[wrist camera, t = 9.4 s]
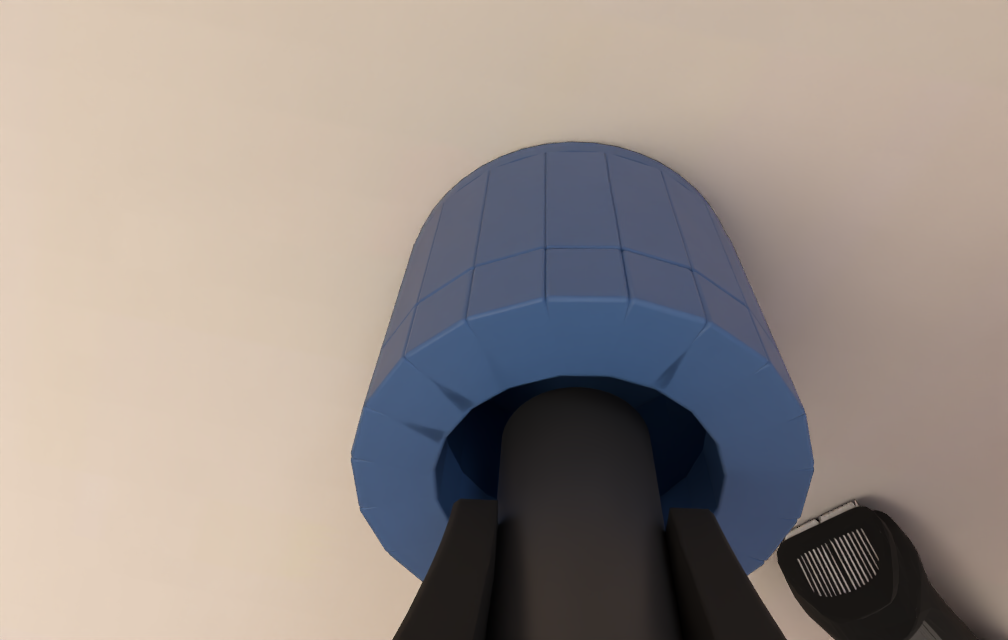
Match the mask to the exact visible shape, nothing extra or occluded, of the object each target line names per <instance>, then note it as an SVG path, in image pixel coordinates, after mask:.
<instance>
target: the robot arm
mask: <svg viewBox="0 0 1008 640" xmlns="http://www.w3.org/2000/svg"><path fill="white" fill-rule="evenodd" d="M497 531H498V500H482V499H459V500H458V501H456V502H455V503H453V507H452V511H451V514H450V518H449V521H448V523H447V526H446V529H445V532H444V535H443V537H442V540H441V542H440V545H439V547H438V550H437V552H436V554H435V557H434V559H433V561H432V563H431V566H430V568H429V570H428V572H427V574H426V576H425V578H424V580H423V583H422V585H421V587H420V589H419V591H418V593H417V595H416V597H415V599H414V601H413V603H412V605H411V607H410V609H409V611H408V613H407V614H406V616H405V618H404V620H403V622H402V624H401V626H400V627H399V629H398V631H397V632H396V634H395V636H394V638H393V639H392V640H486V636H487V625H488V618H489V610H490V603H491V595H492V588H493V582H494V572H495V558H496V545H497ZM665 535H666V541H667V547H668V553H669V559H670V566H671V572H672V578H673V584H674V590H675V595H676V600H677V606H678V613H679V619H680V625H681V631H682V637H683V640H787V639H786V638H785V636H784V635H783V633H782V631H781V630H780V628H779V627H778V625H777V624H776V622H775V621H774V619H773V617H772V616H771V614H770V613H769V611H768V610H767V608H766V606H765V605H764V603H763V602H762V600H761V598H760V597H759V595H758V593H757V592H756V590H755V589H754V587H753V585H752V583H751V582H750V580H749V578H748V577H747V575H746V573H745V571H744V570H743V568H742V566H741V564H740V563H739V561H738V559H737V557H736V556H735V554H734V552H733V550H732V548H731V546H730V545H729V543H728V541H727V539H726V537H725V535H724V533H723V531H722V529H721V527H720V525H719V523H718V521H717V519H716V517H715V515H714V514H713V513H712V512H711V511H710V510H709V509H693V508H670V509H669V515H668V520H667V525H666V531H665Z"/></svg>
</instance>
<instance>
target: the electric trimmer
mask: <svg viewBox="0 0 1008 640" xmlns="http://www.w3.org/2000/svg"><path fill="white" fill-rule="evenodd" d="M845 504H846V503H845ZM855 504H856V506H855V505H854V504H853V503H852V502H851V501H850V503H848V505H847V504H846V506H845V505H844V504H843V507H844V508H843V507H842V506H841V508H840V507H839V506H838V507H839V510H838V509H837V508H836V510H837V511H836V510H835V509H834V512H833V511H832V513H831V512H830V511H829V512H830V514H829V513H827V515H826V514H825V516H824V515H823V517H822V516H821V515H820V518H819V519H820V523H819V522H818V521H816V520H815V519H814V521H813V520H812V519H811V521H812V523H811V522H810V521H809V523H808V522H807V525H806V524H805V526H804V525H803V527H802V526H801V525H800V527H799V526H798V529H797V528H796V530H795V529H794V531H793V530H792V532H791V531H789V532H790V534H789V533H788V535H786V537H785V541H783V542H782V543H781V544H780V547H779V549H778V551H777V557H778V564H779V566H780V568H781V570H782V572H783V574H784V576H785V579H786V581H787V583H788V585H789V587H790V589H791V591H792V593H793V595H794V597H795V598H796V600H797V601H798V602H799V604H800V605H801V606H802V608H803V609H804V610H805V612H806V613H807V614H808V615H809V616H810V617H811V618H812V619H813V620H814V621H815V622H816V623H817V624H819V625H820V626H821V627H822V628H823V629H824V630H825V631H826V632H827V633H828V634H829V635H830V636H831V637H832V638H834V639H835V640H978V639H977V638H976V636H975V635H974V634H973V633H972V632H971V631H970V630H969V629H968V628H967V627H966V626H965V625H964V623H963V622H962V621H961V620H960V619H959V618H958V617H957V616H956V615H955V614H954V613H953V611H952V610H951V609H950V608H949V607H948V606H947V604H946V603H945V602H944V601H943V599H942V598H941V597H940V596H939V594H938V593H937V592H936V591H935V590H934V588H933V587H932V586H931V584H930V583H929V581H928V579H927V576H926V574H925V571H924V568H923V566H922V563H921V560H920V558H919V555H918V552H917V550H916V549H915V547H914V546H913V544H912V542H911V541H910V540H909V538H908V537H907V536H906V535H905V534H904V532H903V531H902V530H901V529H900V528H899V527H898V525H897V524H896V523H895V522H894V521H893V519H892V518H891V517H889V516H888V515H887V514H885V513H883V512H881V511H877V510H870V509H869V508H867V507H863V506H858V504H857V502H856V500H855Z"/></svg>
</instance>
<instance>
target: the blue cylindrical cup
mask: <svg viewBox="0 0 1008 640" xmlns="http://www.w3.org/2000/svg"><path fill="white" fill-rule="evenodd" d="M567 387H585V388H593V389H598V390H602V391H605V392H608V393H611V394H613V395H615V396H618V397H619V398H621V399H623V400H624V401H626V402H627V403H629V404H630V405H631V406H632V407H633V408H634V409H635V410H636V411H637V412H638V413H639V414H640V415H641V417H642V418H643V419H644V421H645V423H646V425H647V427H648V430H649V434H650V439H651V446H652V452H653V458H654V464H655V470H656V477H657V483H658V489H659V495H660V501H661V507H662V514H663V520H664V526H665V531H666V525H667V520H668V515H669V509H670V508H693V509H709V510H710V511H711V512H712V513H713V514H714V515H715V517H716V519H717V521H718V523H719V525H720V527H721V529H722V531H723V533H724V535H725V537H726V539H727V541H728V543H729V545H730V546H731V548H732V550H733V552H734V554H735V556H736V557H737V559H738V561H739V563H740V564H741V566H742V568H743V570H744V571H745V573H746V575H749V574H750V573H752V572H753V571H755V570H756V569H757V568H759V567H760V566H762V565H763V564H764V561H766V560H767V559H768V558H769V557H770V556H771V554H772V553H773V552H774V551H775V549H776V548H777V547H778V546H779V544H780V543H781V542H782V540H783V539H784V538H785V537H786V535H787V534H788V533H789V531H790V530H791V529H792V528H793V526H794V525H795V524H796V522H797V519H799V518H800V517H801V513H802V510H803V506H804V503H805V500H806V496H807V493H808V489H809V486H810V482H811V479H812V475H813V472H814V467H813V466H814V459H813V453H812V447H811V441H810V435H809V429H808V423H807V417H806V413H805V411H804V408H803V405H802V403H801V401H800V398H799V396H798V394H797V392H796V389H795V387H794V385H793V382H792V380H791V378H790V376H789V373H788V371H787V369H786V366H785V364H784V362H783V359H782V357H781V355H780V353H779V350H778V348H777V346H776V343H775V341H774V339H773V336H772V334H771V332H770V330H769V327H768V325H767V323H766V320H765V318H764V316H763V313H762V311H761V309H760V307H759V304H758V302H757V300H756V297H755V295H754V293H753V290H752V288H751V286H750V284H749V281H748V279H747V277H746V274H745V272H744V270H743V267H742V265H741V263H740V261H739V258H738V256H737V254H736V251H735V249H734V247H733V245H732V242H731V241H730V239H729V238H728V236H727V235H726V233H725V231H724V229H723V227H722V225H721V222H720V221H719V219H718V217H717V216H716V214H715V213H714V211H713V210H712V208H711V206H710V205H709V204H708V203H707V201H706V200H705V199H704V198H703V197H702V196H701V194H700V193H699V192H698V191H697V190H696V189H695V188H694V187H693V186H692V185H690V184H689V183H688V182H687V181H686V180H685V179H683V178H682V177H681V176H680V175H679V174H677V173H675V172H674V171H672V170H671V169H669V168H667V167H666V166H664V165H663V164H661V163H659V162H657V161H655V160H653V159H650V158H648V157H646V156H644V155H642V154H639V153H636V152H633V151H629V150H626V149H623V148H620V147H615V146H609V145H603V144H597V143H584V142H564V143H552V144H544V145H539V146H535V147H530V148H525V149H521V150H519V151H516V152H513V153H510V154H507V155H504V156H502V157H499V158H497V159H495V160H493V161H491V162H489V163H487V164H485V165H483V166H482V167H480V168H478V169H477V170H475V171H474V172H472V173H471V174H469V175H468V176H467V177H465V178H464V179H462V180H461V181H460V182H459V183H458V184H457V185H455V186H454V187H453V188H452V189H451V190H450V191H449V192H448V193H447V194H446V195H445V196H444V197H443V198H442V199H441V201H440V202H439V203H438V204H437V205H436V207H435V208H434V209H433V210H432V212H431V214H430V215H429V217H428V218H427V220H426V222H425V223H424V225H423V227H422V229H421V231H420V233H419V236H418V238H417V239H416V242H415V244H414V246H413V249H412V252H411V256H410V259H409V262H408V265H407V268H406V271H405V275H404V278H403V281H402V284H401V287H400V291H399V294H398V297H397V300H396V303H395V306H394V310H393V313H392V316H391V319H390V322H389V326H388V329H387V332H386V335H385V338H384V341H383V345H382V348H381V351H380V355H379V357H378V361H377V364H376V367H375V370H374V373H373V377H372V380H371V383H370V386H369V389H368V392H367V396H366V399H365V402H364V405H363V409H362V413H361V416H360V420H359V424H358V428H357V432H356V435H355V439H354V443H353V447H352V451H351V456H352V457H351V463H352V469H353V474H354V480H355V486H356V491H357V497H358V502H359V506H360V511H361V513H362V514H363V516H364V517H365V519H366V520H367V522H368V524H369V525H370V527H371V528H372V530H373V532H374V533H375V535H376V536H377V538H378V539H379V541H380V543H381V544H382V546H383V547H384V549H385V550H386V551H387V552H388V553H389V554H390V555H391V556H392V557H393V558H394V559H396V560H397V561H398V562H399V563H400V564H402V565H403V566H404V567H405V568H406V569H408V570H409V571H410V572H411V573H413V574H414V575H415V576H416V577H417V578H419V579H420V580H421V581H422V582H423V580H424V578H425V576H426V574H427V572H428V570H429V568H430V566H431V563H432V561H433V559H434V557H435V554H436V552H437V550H438V547H439V545H440V542H441V540H442V537H443V535H444V532H445V529H446V526H447V523H448V521H449V518H450V514H451V511H452V507H453V503H455V502H456V501H458V500H459V499H482V500H497V494H498V481H499V468H500V455H501V443H502V434H503V431H504V428H505V426H506V423H507V421H508V420H509V418H510V417H511V416H512V414H513V413H514V412H515V411H516V410H517V409H518V408H519V407H520V406H521V405H522V404H524V403H525V402H526V401H528V400H530V399H531V398H533V397H535V396H537V395H539V394H541V393H544V392H547V391H550V390H555V389H559V388H567Z"/></svg>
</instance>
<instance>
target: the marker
mask: <svg viewBox="0 0 1008 640" xmlns="http://www.w3.org/2000/svg"><path fill="white" fill-rule="evenodd" d="M497 500H498V531H497V545H496V558H495V572H494V582H493V588H492V595H491V603H490V610H489V618H488V625H487V636H486V640H683V637H682V631H681V625H680V619H679V613H678V606H677V600H676V595H675V590H674V584H673V578H672V572H671V566H670V559H669V553H668V547H667V541H666V535H665V526H664V520H663V514H662V507H661V501H660V495H659V489H658V483H657V477H656V470H655V464H654V458H653V452H652V446H651V439H650V434H649V430H648V427H647V425H646V423H645V421H644V419H643V418H642V417H641V415H640V414H639V413H638V412H637V411H636V410H635V409H634V408H633V407H632V406H631V405H630V404H629V403H627V402H626V401H624V400H623V399H621V398H619V397H618V396H615V395H613V394H611V393H608V392H605V391H602V390H598V389H593V388H585V387H567V388H559V389H555V390H550V391H547V392H544V393H541V394H539V395H537V396H535V397H533V398H531V399H530V400H528V401H526V402H525V403H524V404H522V405H521V406H520V407H519V408H518V409H517V410H516V411H515V412H514V413H513V414H512V416H511V417H510V418H509V420H508V421H507V423H506V426H505V428H504V431H503V434H502V443H501V455H500V468H499V481H498V494H497Z"/></svg>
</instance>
